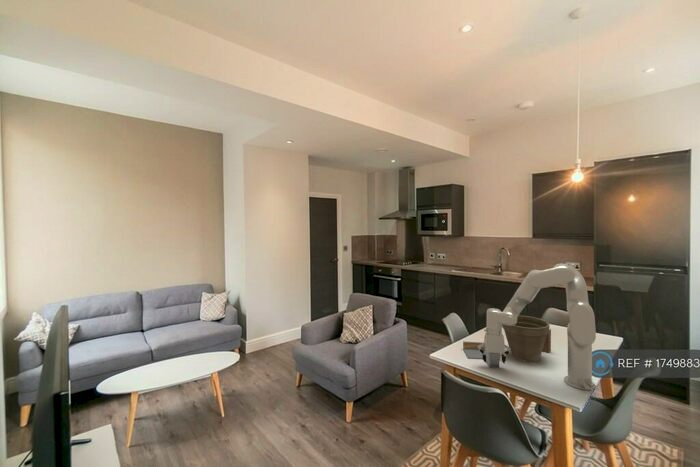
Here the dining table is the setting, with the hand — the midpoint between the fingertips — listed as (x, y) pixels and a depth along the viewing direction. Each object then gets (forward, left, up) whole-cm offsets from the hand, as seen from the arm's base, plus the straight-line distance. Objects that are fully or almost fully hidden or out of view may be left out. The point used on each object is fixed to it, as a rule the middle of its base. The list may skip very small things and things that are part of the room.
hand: (493, 361), depth 169 cm
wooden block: (+30, -36, -3) cm, 47 cm away
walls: (+16, +3, -3) cm, 17 cm away
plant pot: (+17, -22, -3) cm, 28 cm away
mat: (+16, +3, -3) cm, 17 cm away
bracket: (+3, 0, -3) cm, 4 cm away
